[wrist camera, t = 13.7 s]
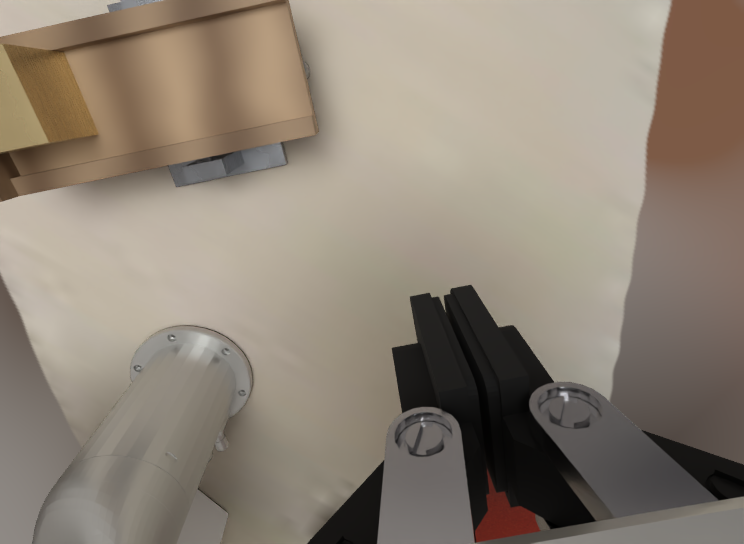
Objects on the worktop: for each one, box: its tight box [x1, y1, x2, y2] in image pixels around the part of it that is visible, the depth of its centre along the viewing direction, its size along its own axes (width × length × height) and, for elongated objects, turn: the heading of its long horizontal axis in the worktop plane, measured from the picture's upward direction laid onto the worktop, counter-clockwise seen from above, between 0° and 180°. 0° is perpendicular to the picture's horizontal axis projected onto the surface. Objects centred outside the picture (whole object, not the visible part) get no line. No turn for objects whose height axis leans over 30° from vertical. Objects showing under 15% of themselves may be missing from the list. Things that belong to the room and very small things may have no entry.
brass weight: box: [0, 44, 99, 154], centre depth 25 cm, size 6×5×5 cm
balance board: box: [0, 0, 319, 202], centre depth 27 cm, size 22×9×4 cm, turn 101°
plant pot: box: [475, 469, 540, 542], centre depth 46 cm, size 19×19×17 cm
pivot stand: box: [107, 0, 310, 187], centre depth 32 cm, size 21×14×7 cm
